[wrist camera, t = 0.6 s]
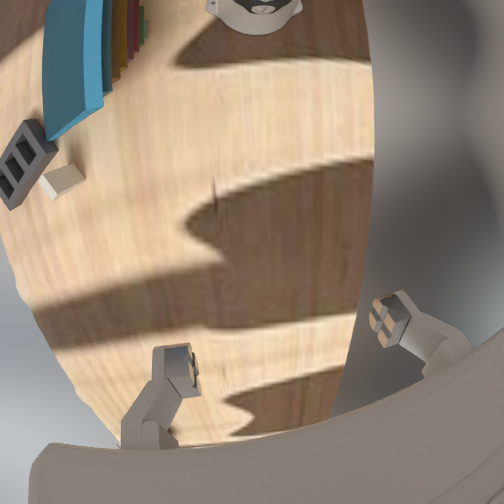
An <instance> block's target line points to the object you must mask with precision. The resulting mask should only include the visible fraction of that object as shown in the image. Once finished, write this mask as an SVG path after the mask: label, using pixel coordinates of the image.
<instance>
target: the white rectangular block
mask: <svg viewBox="0 0 504 504" xmlns="http://www.w3.org/2000/svg"><path fill="white" fill-rule="evenodd" d="M85 180H86V179H85V177H84V176H83V175H82V174H81V172H80V171H79V170H78V168H77V167H76V166H75V165H74V163H72V164H69V165H66V166H64V167H61V168H59V169H56V170H53V171H51V172H48V173H46V174H44V175H42V177H41V178H40V180H39V181H38V183H39V185H40V186H41V187H42V189H43V190H44V191H45V193H46V194H47V195H48V197H49V198H50V199H51V201H54V200H55V199H57V198H59V197H61V196H62V195H64V194H66V193H68V192H69V191H71V190H73V189H75V188H77V187H79V186H80V185H81V184H82V183H83V182H84V181H85Z"/></svg>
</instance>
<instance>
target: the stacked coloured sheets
mask: <svg viewBox="0 0 504 504" xmlns="http://www.w3.org/2000/svg"><path fill="white" fill-rule="evenodd" d="M147 39H148V20H144V6H139V0H51V2H50V4H49V6H48V9H47V12H46V19H45V28H44V39H43V56H42V94H43V112H44V123H45V133H46V140H47V142H49V141H52V140H55V139H57V138H58V137H59V136H61V135H62V134H63V133H65V132H66V131H67V130H69V129H70V128H72V127H73V126H74V125H76V124H77V123H79V122H80V121H82V120H83V119H85V118H86V117H88V116H89V115H91V114H92V113H94V112H95V111H97V110H98V109H100V108H102V107H103V106H104V105H103V97H104V96H106V95H107V94H108V93H110V92H111V91H113V89H112V84H113V83H114V82H115V81H117V80H118V79H120V78H121V77H120V72H121V71H123V70H124V69H126V68H127V63H128V62H129V61H131V60H132V59H133V58H134V54H135V53H136V52H138V51H139V47H141V46H142V45H143V44H144V41H145V40H147Z"/></svg>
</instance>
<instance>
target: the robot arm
mask: <svg viewBox="0 0 504 504" xmlns="http://www.w3.org/2000/svg"><path fill="white" fill-rule="evenodd" d="M213 2H215V4H211V3H213ZM302 9H303V6H302V3H301V0H208V1H207V5H206V11H207V12H208V13H210V14H212V15H215V16H218V17H219V18H220V19H222V21H223V22H224V23H225V24H226V25H228V26H229V27H231V28H232V29H234V30H236V31H238V32H241V33H245V34H251V35H262V34H268V33H271V32H274V31H276V30H278V29H280V28H281V27H283V26H284V25H285V24H286V23H287V21H288V20H289V19H290V18H291V17H292V16H294V15H296V14H298V13H300V12H301V11H302ZM373 307H374V308H373V309H372V310H371V312H370V315H369V321H370V325H371V327H372V329H373V330H374V331H376V332H377V333H378V339H379V340H380V342H381V344H382V345H383V347H384V348H386V347H389V346H392V345H395V344H397V343H399V344H400V345H401V346H403V347H404V348H406V349H407V350H409V351H410V352H412V353H413V354H415V355H416V356H418V357H419V358H421V359H422V360H424V361H425V362H427V364H426V366H425V367H424V369H423V370H422V373H423V375H424V377H425V379H423V380H421V381H419V382H417V383H416V384H413V385H411V386H409V387H408V388H406V389H403V390H401V391H399V392H397V393H395V394H393V395H391V396H388V397H386V398H384V399H381V400H379V401H377V402H374V403H372V404H370V405H367V406H365V407H362V408H360V409H357V410H354V411H352V412H349V413H346V414H343V415H341V416H338V417H335V418H332V419H329V420H326V421H322V422H319V423H316V424H313V425H309V426H306V427H302V428H298V429H295V430H291V431H287V432H283V433H279V434H274V435H270V436H265V437H261V438H256V439H250V440H245V441H239V442H233V443H226V444H219V445H211V446H202V447H192V448H179V444H178V440H177V439H175V438H174V437H173V436H172V435H171V434H169V433H168V432H167V430H168V428H169V426H170V424H171V422H172V420H173V418H174V416H175V414H176V412H177V410H178V408H179V406H180V404H181V402H182V399H184V398H190V397H197V396H201V387H200V381H199V379H198V377H197V376H198V375H199V368H198V362H197V359H196V356H195V354H194V353H193V352H192V347H191V345H190V343H182V344H174V345H165V346H158V347H154V349H153V356H152V381H148V383H147V384H146V385H145V387H144V388H143V390H142V391H141V393H140V394H139V396H138V397H137V399H136V400H135V402H134V403H133V404H132V406H131V407H130V409H129V410H128V412H127V413H126V415H125V416H124V418H123V419H122V421H121V449H107V448H94V447H84V446H75V445H69V444H62V443H50V444H49V445H47V446H46V447H45V449H44V450H43V451H42V452H41V453H40V454H39V455H38V457H37V458H36V460H35V461H34V462H33V464H32V467H31V471H30V476H29V493H28V494H29V495H28V502H29V503H28V504H504V327H503V328H502V329H501V330H499V331H498V332H497V333H496V334H494V335H493V336H492V337H490V338H489V339H488V340H486V341H485V342H483V343H482V344H481V345H479V346H478V347H476V348H475V349H473V347H472V346H471V344H470V343H469V342H468V340H467V339H466V337H465V336H464V335H463V333H462V332H461V331H460V330H458V329H456V328H454V327H452V326H450V325H448V324H446V323H444V322H442V321H440V320H438V319H436V318H433V317H431V316H429V315H427V314H425V313H420V311H419V310H418V309H417V307H416V306H415V305H414V303H413V302H412V301H411V300H410V298H409V297H408V296H407V295H406V293H405V292H404V291H399V292H396V293H393V294H389V295H386V296H383V297H380V298H377V299H375V300H374V301H373Z"/></svg>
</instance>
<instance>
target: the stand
mask: <svg viewBox="0 0 504 504" xmlns="http://www.w3.org/2000/svg"><path fill="white" fill-rule="evenodd" d="M57 152H58V149H57V148H56V146H55V145H54V144H53V142H52V141H49V142H47V140H46V133H45V131H44V129H43V128H42V126H41V125H40V123H39V122H38V120H37V119H29V120H23V122H22V123H21V125H20V126H19V128H18V130H17V131H16V133H15V134H14V136H13V137H12V139H11V141H10V142H9V144H8V146H7V147H6V149H5V151H4V153H3V154H2V156H1V158H0V197H1V199H2V200H3V202H4V203H5V205H6V206H7V208H8V209H9V210H10V211H11V210H13V209H14V208H16V207H18V206H19V205H21V204H22V202H23V201H24V199H25V198H26V196H27V194H28V193H29V191H30V190H31V188H32V187H33V185H34V184H35V182H36V181H37V179H38V178H39V176H40V175H41V174H42V172H43V171H44V169H45V168H46V167H47V165H48V164H49V163H50V161H51V160H52V159H53V157H54V156H55V155H56V153H57Z"/></svg>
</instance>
